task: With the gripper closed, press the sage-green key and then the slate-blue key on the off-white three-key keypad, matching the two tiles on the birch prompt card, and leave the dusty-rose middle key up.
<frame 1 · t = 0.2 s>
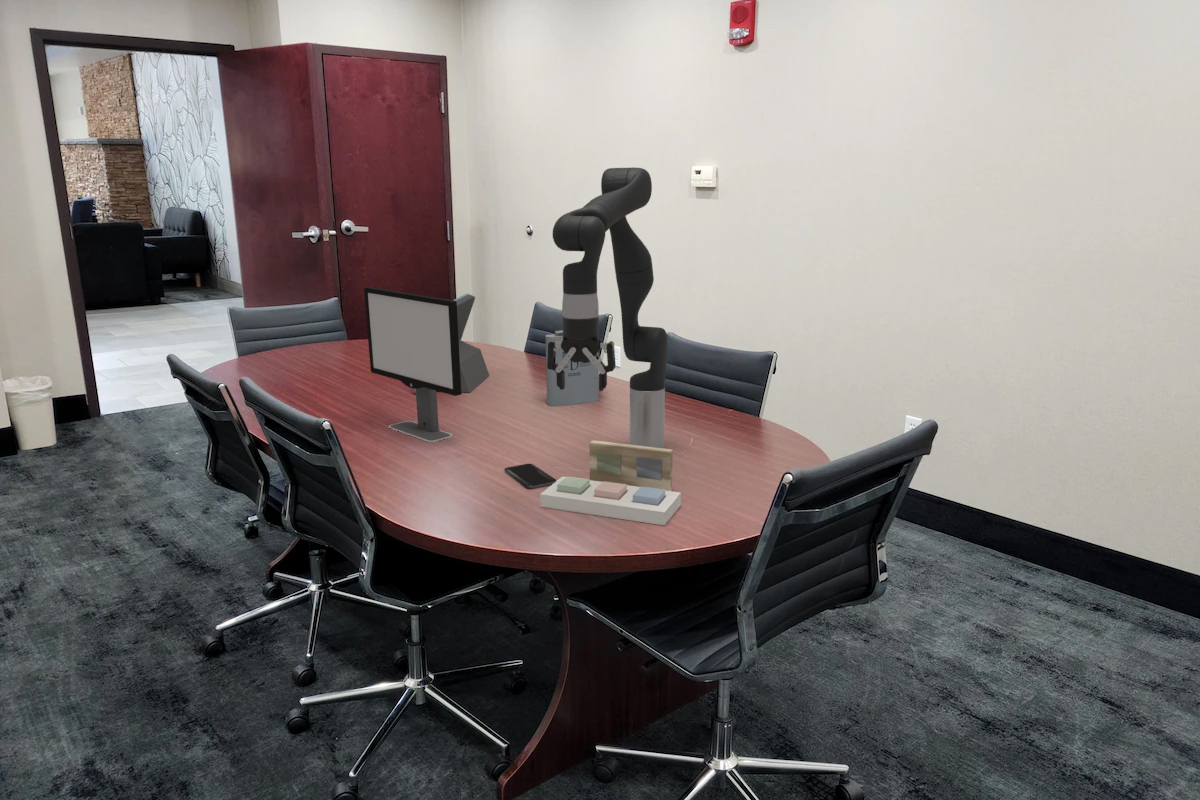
hand: (581, 389, 180), 28 cm above the table, fingers open, 8 cm apart
key rose: (610, 492, 189), point 3 cm above the table, slide at 0.0 cm
computer monitor: (420, 432, 244), on the table
keypad: (610, 505, 190), on the table
flask: (573, 403, 273), on the table
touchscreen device: (453, 383, 299), on the table
key slate: (649, 498, 185), point 3 cm above the table, slide at 0.0 cm
prompt card: (630, 486, 201), on the table
phone: (530, 479, 208), on the table
key sage: (573, 487, 192), point 3 cm above the table, slide at 0.0 cm
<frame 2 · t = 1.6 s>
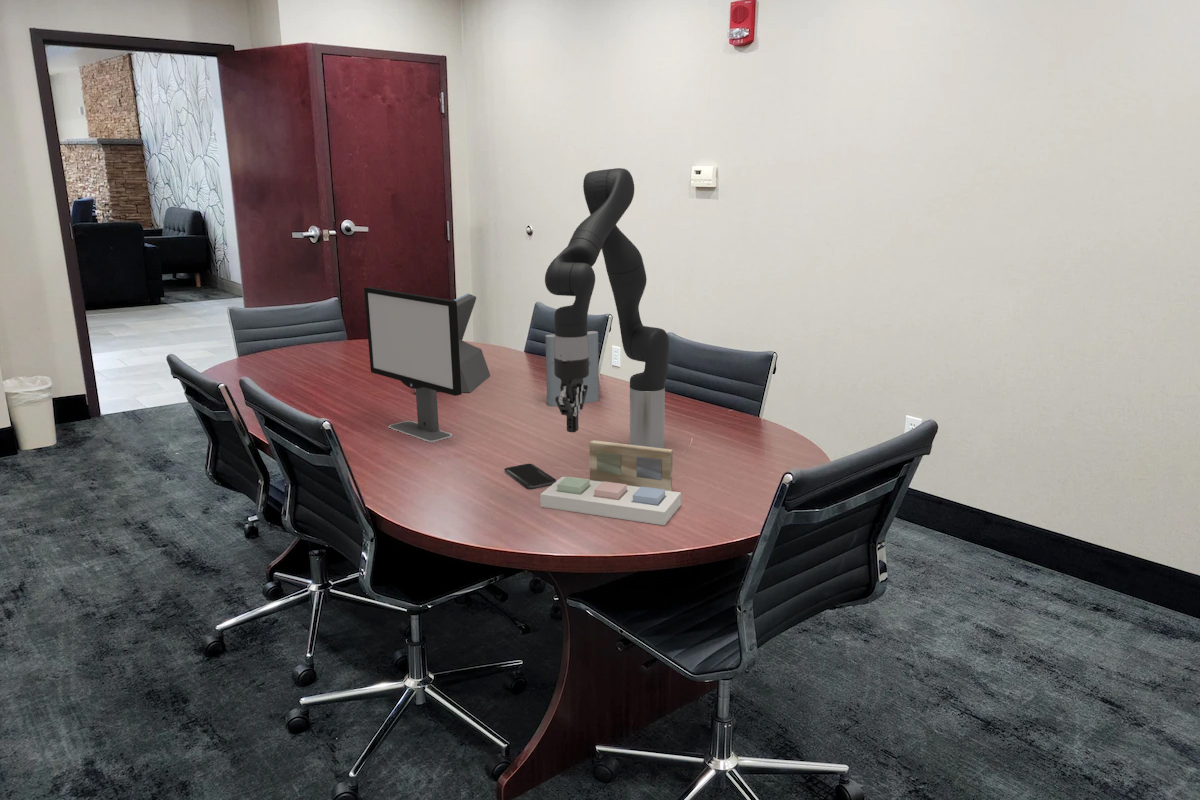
hand: (572, 431, 188), 17 cm above the table, fingers closed
nothing on the table moved.
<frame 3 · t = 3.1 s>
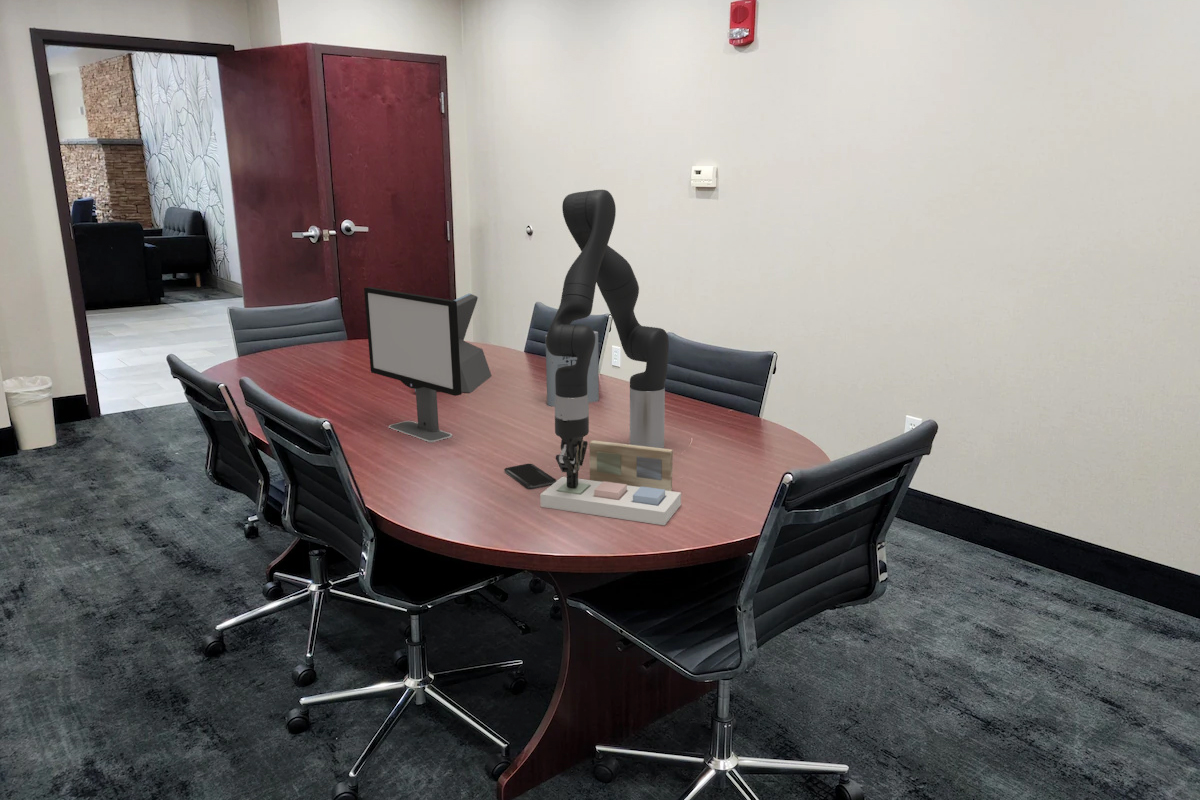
hand: (572, 487, 192), 3 cm above the table, fingers closed
key sage: (573, 492, 192), point 2 cm above the table, slide at 1.2 cm, touching gripper, keypad
everything else where it was.
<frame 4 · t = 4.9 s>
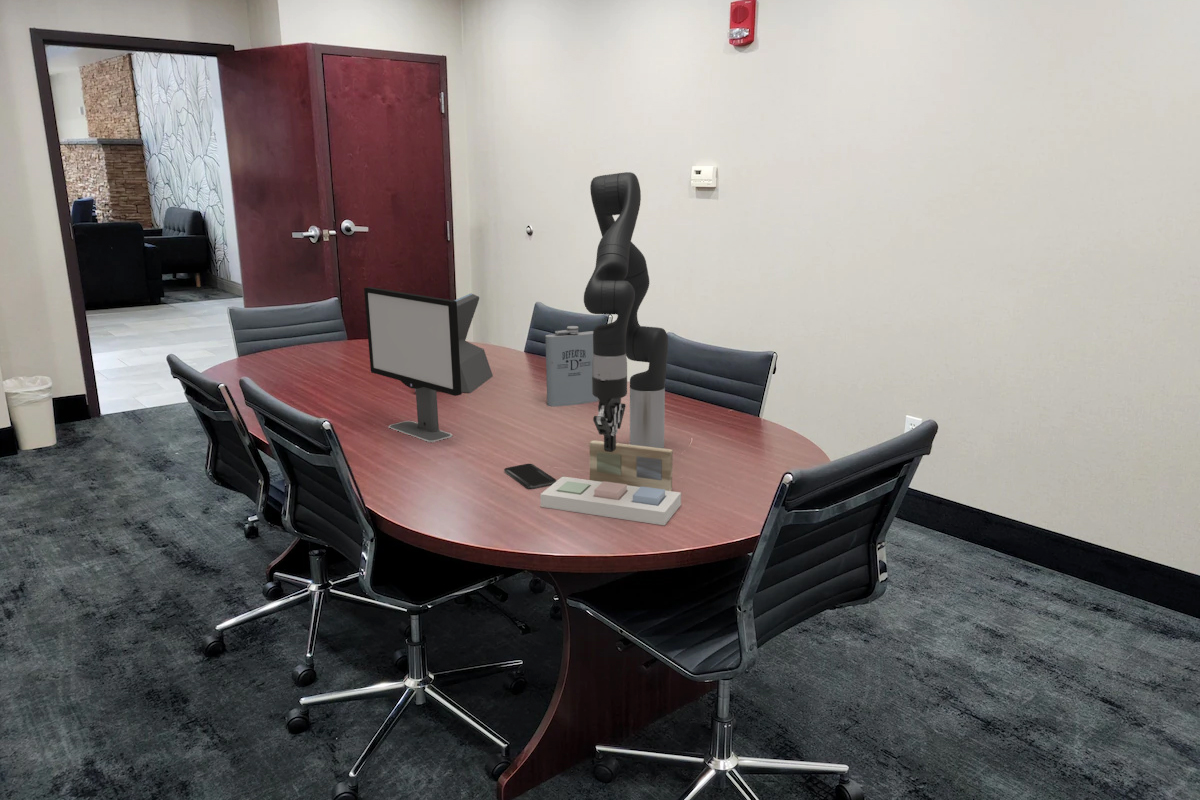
hand: (609, 450, 186), 13 cm above the table, fingers closed
key sage: (573, 492, 192), point 2 cm above the table, slide at 1.2 cm
everything else where it was.
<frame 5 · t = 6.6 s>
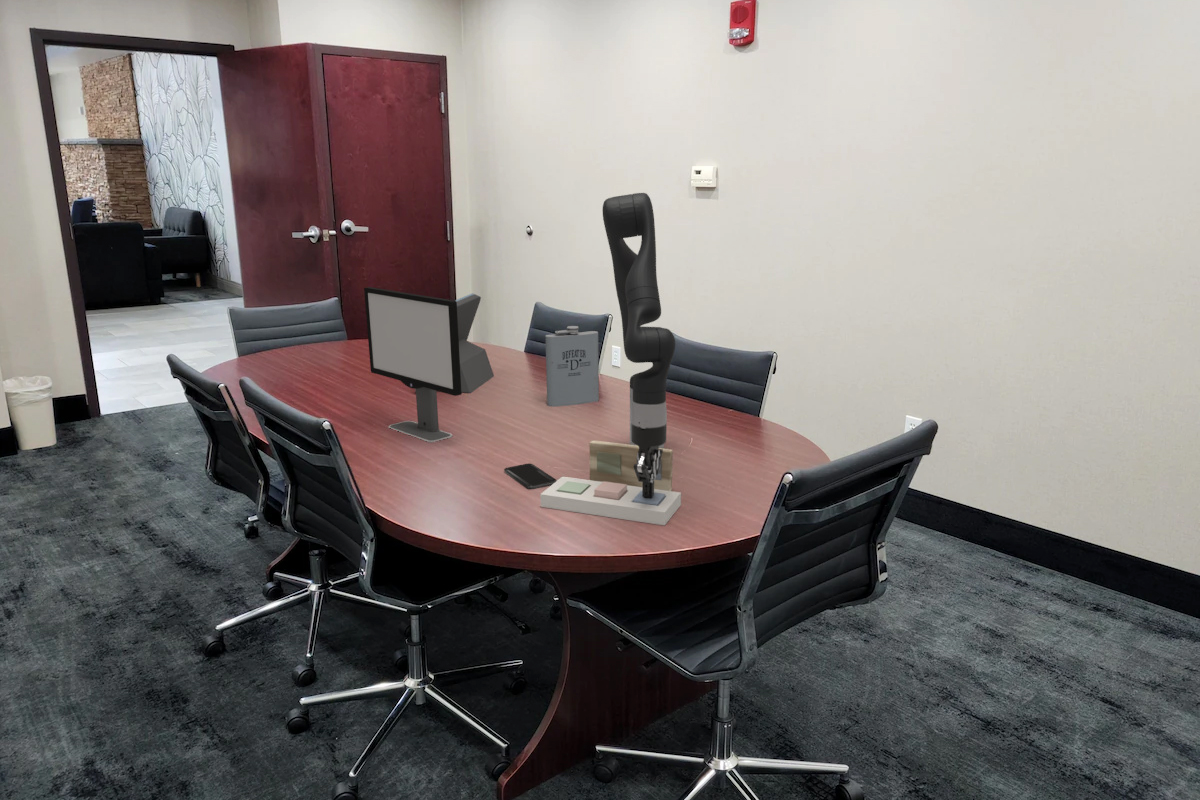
hand: (648, 497, 185), 3 cm above the table, fingers closed
key slate: (649, 502, 186), point 2 cm above the table, slide at 1.0 cm, touching gripper
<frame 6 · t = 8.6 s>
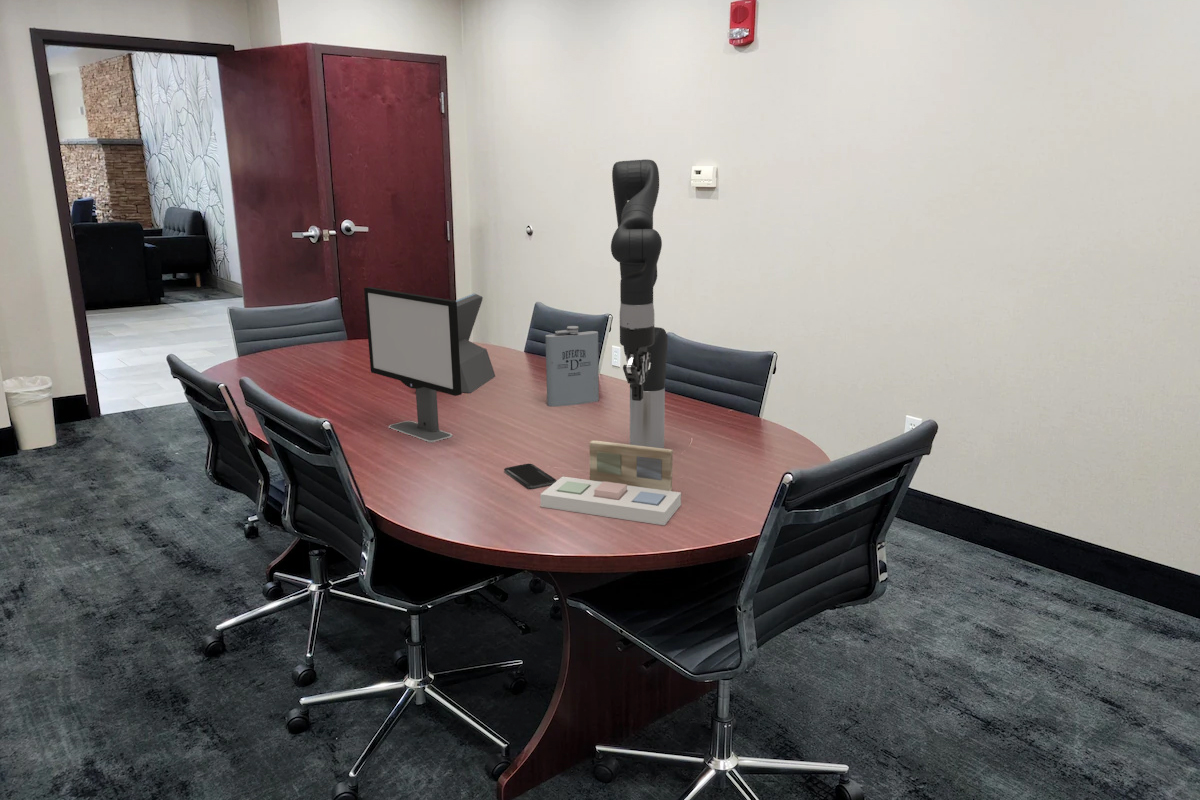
hand: (637, 399, 188), 23 cm above the table, fingers closed
key slate: (649, 503, 186), point 2 cm above the table, slide at 1.2 cm
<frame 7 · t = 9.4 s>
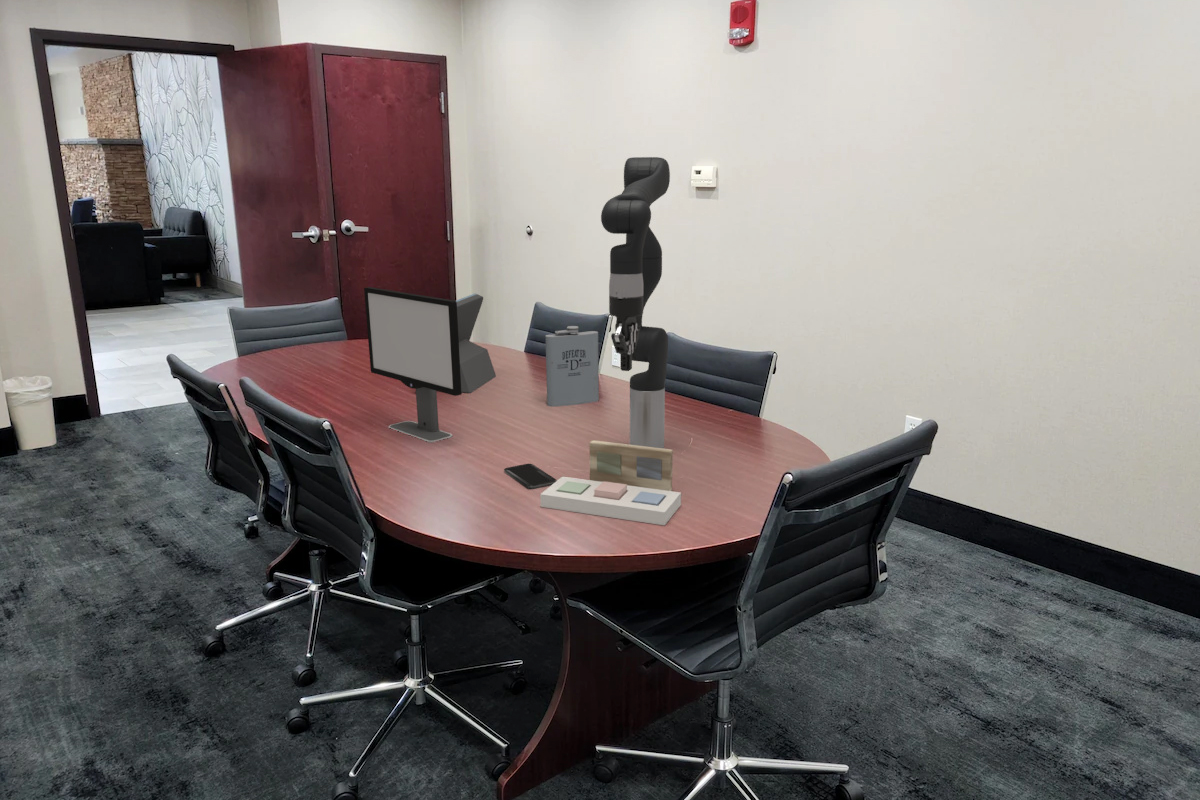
hand: (626, 370, 191), 29 cm above the table, fingers closed
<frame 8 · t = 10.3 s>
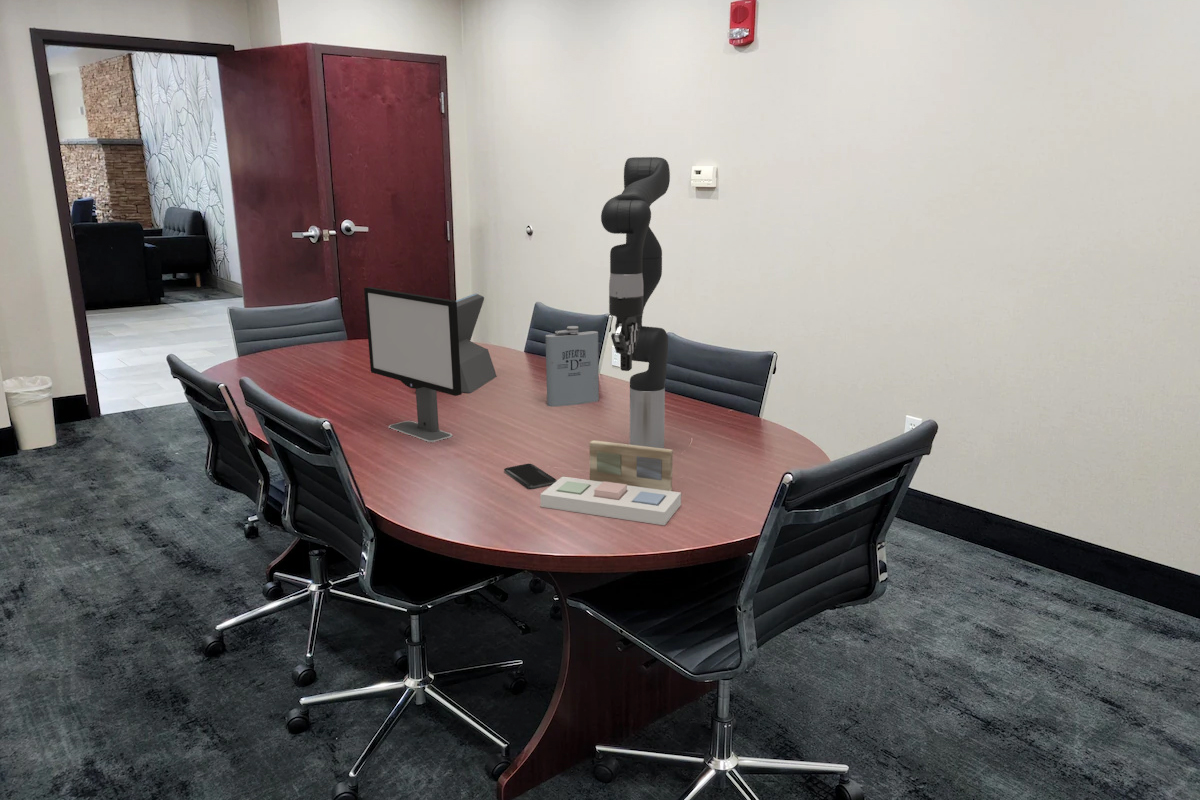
hand: (626, 370, 191), 29 cm above the table, fingers closed
at the end: key sage slide at 1.2 cm; key slate slide at 1.2 cm; key rose slide at 0.0 cm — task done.
